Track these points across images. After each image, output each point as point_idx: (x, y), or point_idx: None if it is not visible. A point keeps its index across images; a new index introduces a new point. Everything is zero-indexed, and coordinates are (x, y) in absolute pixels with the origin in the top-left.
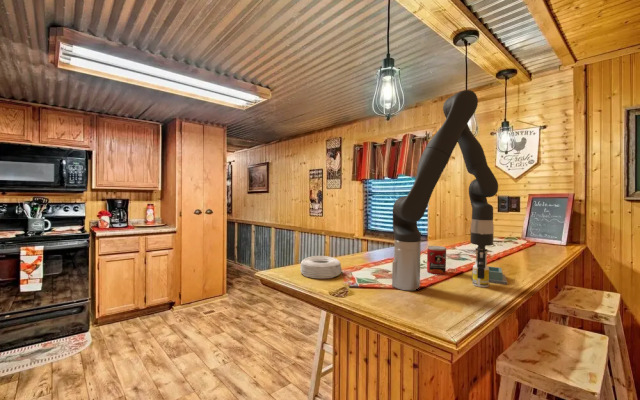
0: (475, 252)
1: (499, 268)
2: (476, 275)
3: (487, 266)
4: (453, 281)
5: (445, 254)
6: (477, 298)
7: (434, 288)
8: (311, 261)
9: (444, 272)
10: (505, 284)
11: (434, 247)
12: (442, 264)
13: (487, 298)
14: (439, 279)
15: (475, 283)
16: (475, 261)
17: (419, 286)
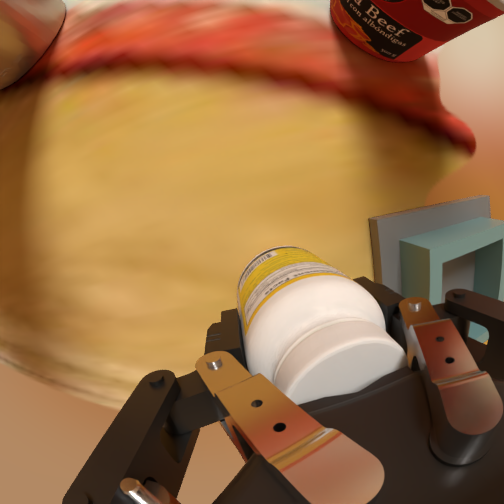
0: (278, 473)
1: (487, 333)
2: (243, 302)
3: None
4: (256, 127)
5: (459, 10)
6: (52, 320)
7: (48, 112)
8: None
9: (381, 56)
10: None
11: None
12: (388, 19)
13: (84, 354)
14: (238, 51)
15: (243, 275)
16: (312, 341)
17: (10, 79)
